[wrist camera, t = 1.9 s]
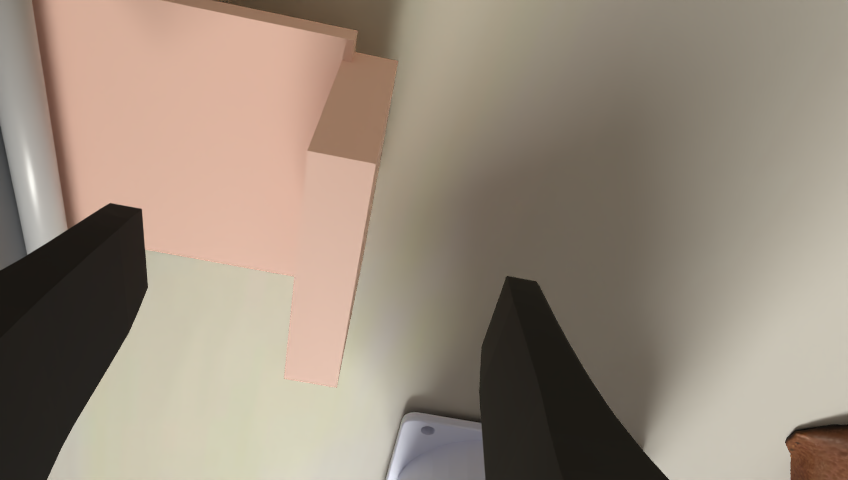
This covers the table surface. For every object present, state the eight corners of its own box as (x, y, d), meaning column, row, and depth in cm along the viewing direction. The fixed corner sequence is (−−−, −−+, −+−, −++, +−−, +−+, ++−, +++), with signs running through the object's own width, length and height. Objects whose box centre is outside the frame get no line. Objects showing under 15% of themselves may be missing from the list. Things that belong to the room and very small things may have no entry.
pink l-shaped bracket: (401, 39, 15) (380, 139, 11) (359, 274, 19) (334, 401, 16) (-258, -99, 14) (-514, -38, 10) (-152, 180, 18) (-308, 293, 15)
